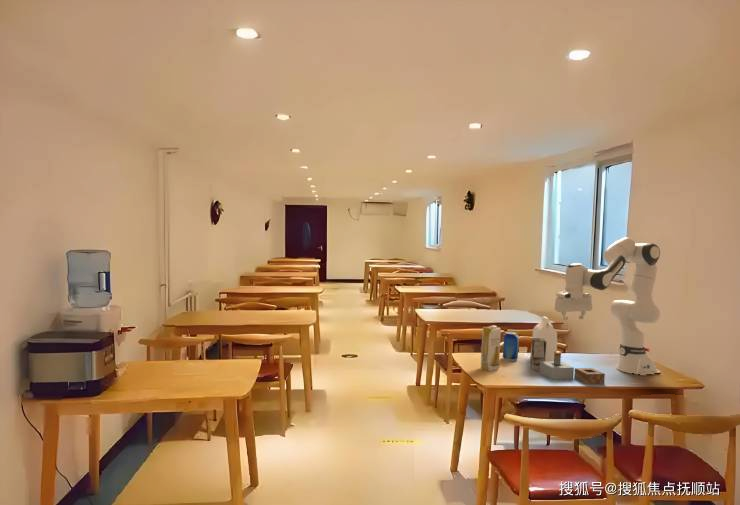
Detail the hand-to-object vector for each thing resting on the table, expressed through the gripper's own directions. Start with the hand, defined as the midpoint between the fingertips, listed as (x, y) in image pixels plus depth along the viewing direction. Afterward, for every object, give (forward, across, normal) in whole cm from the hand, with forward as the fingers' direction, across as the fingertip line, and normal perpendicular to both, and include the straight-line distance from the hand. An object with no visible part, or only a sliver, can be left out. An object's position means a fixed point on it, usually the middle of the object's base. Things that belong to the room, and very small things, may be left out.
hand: (573, 319), depth 250 cm
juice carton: (+28, +42, -12) cm, 52 cm away
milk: (+30, +2, -24) cm, 39 cm away
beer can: (+29, +21, -28) cm, 46 cm away
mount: (+29, -2, +12) cm, 32 cm away
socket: (+29, +11, +3) cm, 31 cm away
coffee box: (+29, +14, -10) cm, 34 cm away
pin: (+29, +11, +3) cm, 31 cm away
